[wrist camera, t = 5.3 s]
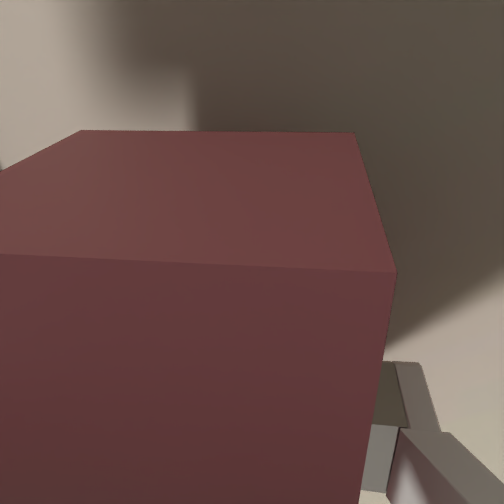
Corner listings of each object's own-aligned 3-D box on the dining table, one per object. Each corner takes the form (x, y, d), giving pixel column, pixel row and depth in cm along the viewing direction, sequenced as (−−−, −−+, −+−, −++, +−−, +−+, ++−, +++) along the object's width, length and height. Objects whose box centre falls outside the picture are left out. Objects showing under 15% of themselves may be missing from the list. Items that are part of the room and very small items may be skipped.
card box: (81, 129, 9) (-160, 252, 4) (354, 132, 8) (400, 282, 4) (145, 424, 13) (57, 635, 9) (325, 442, 13) (330, 680, 8)
